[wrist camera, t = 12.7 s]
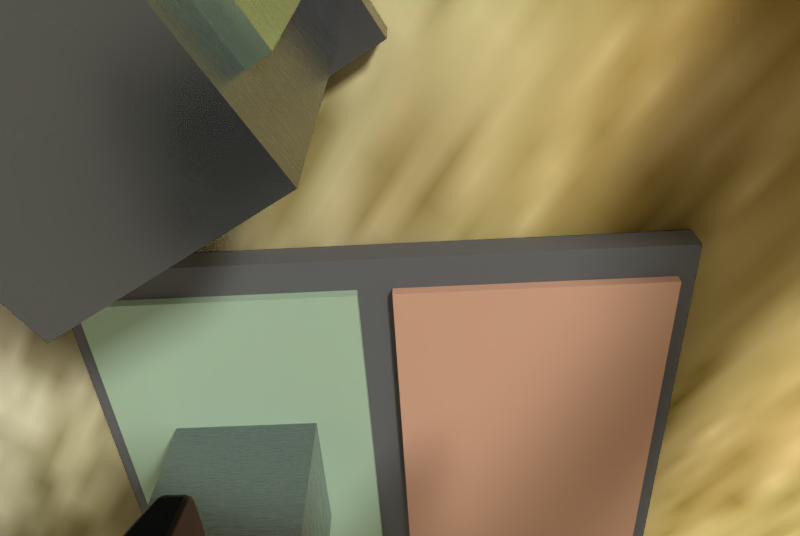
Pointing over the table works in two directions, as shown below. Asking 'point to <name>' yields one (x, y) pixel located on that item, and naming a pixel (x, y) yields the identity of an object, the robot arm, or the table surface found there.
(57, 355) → the table surface
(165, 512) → the robot arm
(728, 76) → the table surface
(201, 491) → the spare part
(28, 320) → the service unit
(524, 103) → the table surface
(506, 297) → the sorting board
